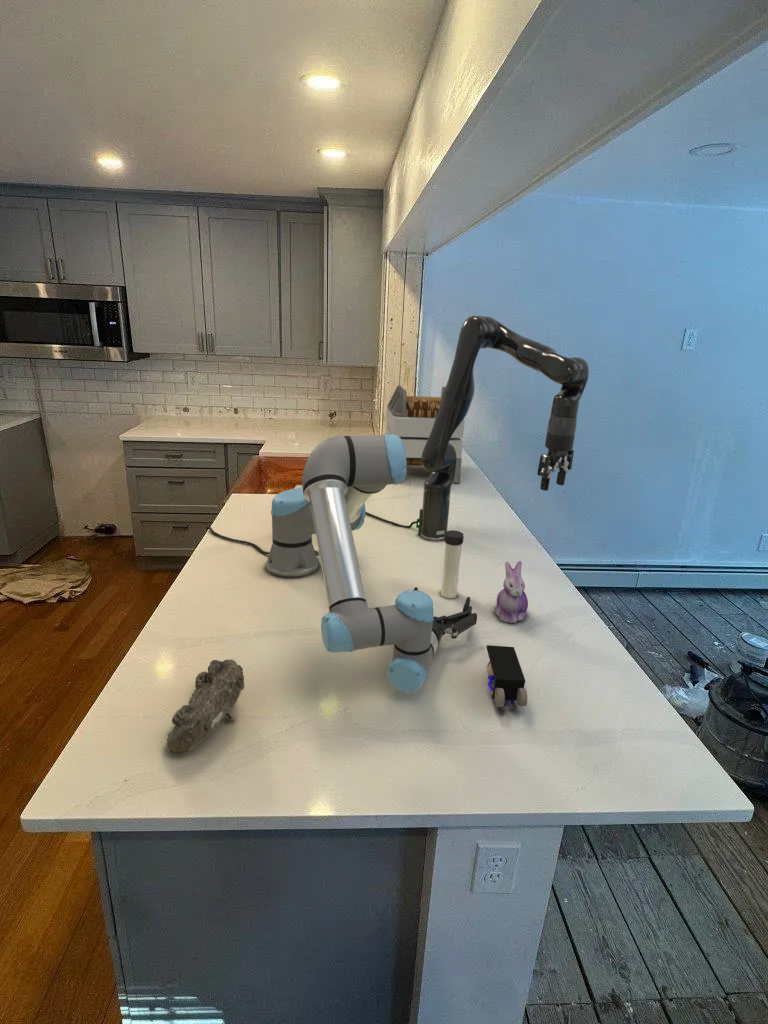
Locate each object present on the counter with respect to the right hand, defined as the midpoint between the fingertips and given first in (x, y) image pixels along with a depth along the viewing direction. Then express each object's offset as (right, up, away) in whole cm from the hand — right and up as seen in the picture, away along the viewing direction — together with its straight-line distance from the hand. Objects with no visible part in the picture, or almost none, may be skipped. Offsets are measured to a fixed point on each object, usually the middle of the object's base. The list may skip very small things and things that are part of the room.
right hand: (552, 487), depth 163 cm
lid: (-29, -13, -10) cm, 34 cm away
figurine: (-15, -34, -13) cm, 40 cm away
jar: (-30, -30, -4) cm, 43 cm away
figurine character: (-24, -45, -45) cm, 68 cm away
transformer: (-31, +12, +112) cm, 117 cm away
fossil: (-81, -46, -55) cm, 108 cm away
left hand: (-34, -29, -18) cm, 48 cm away
